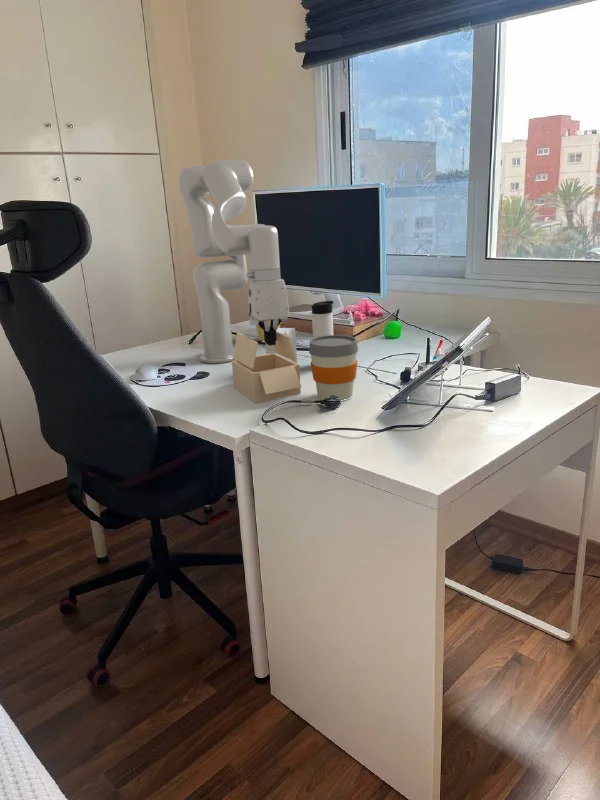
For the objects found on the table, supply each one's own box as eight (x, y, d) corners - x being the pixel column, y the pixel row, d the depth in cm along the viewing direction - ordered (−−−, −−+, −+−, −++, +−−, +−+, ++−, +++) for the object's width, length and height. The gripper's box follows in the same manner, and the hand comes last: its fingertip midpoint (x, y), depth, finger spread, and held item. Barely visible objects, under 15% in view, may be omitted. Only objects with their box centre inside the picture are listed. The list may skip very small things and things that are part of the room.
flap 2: (267, 328, 168) (268, 327, 168) (274, 351, 171) (275, 350, 171) (288, 337, 156) (289, 336, 157) (295, 361, 159) (296, 360, 160)
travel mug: (334, 368, 183) (331, 302, 176) (312, 368, 184) (309, 303, 177) (337, 363, 188) (334, 299, 182) (316, 363, 190) (313, 299, 183)
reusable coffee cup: (324, 407, 150) (321, 349, 146) (303, 393, 161) (300, 339, 157) (368, 398, 155) (367, 341, 150) (345, 386, 166) (343, 332, 161)
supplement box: (298, 368, 185) (295, 327, 181) (290, 375, 179) (287, 333, 175) (275, 367, 188) (273, 327, 184) (266, 374, 181) (263, 332, 177)
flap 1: (258, 342, 153) (256, 342, 153) (253, 369, 154) (252, 369, 154) (238, 333, 165) (237, 332, 164) (234, 358, 166) (233, 357, 166)
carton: (229, 384, 173) (226, 357, 170) (271, 376, 178) (269, 350, 175) (261, 407, 153) (258, 376, 150) (307, 397, 159) (305, 367, 156)
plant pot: (287, 338, 225) (285, 311, 221) (276, 344, 215) (274, 317, 212) (262, 337, 228) (260, 311, 225) (250, 343, 219) (248, 317, 216)
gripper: (244, 280, 150) (250, 351, 156) (298, 273, 156) (301, 342, 162) (233, 277, 157) (239, 346, 163) (285, 271, 163) (289, 337, 169)
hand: (270, 344), depth 162 cm, fingers closed
